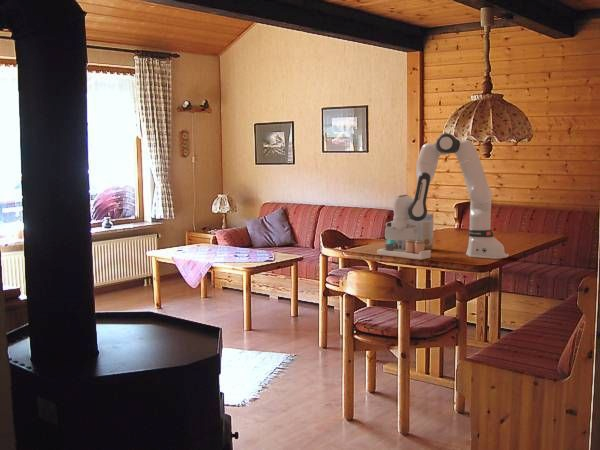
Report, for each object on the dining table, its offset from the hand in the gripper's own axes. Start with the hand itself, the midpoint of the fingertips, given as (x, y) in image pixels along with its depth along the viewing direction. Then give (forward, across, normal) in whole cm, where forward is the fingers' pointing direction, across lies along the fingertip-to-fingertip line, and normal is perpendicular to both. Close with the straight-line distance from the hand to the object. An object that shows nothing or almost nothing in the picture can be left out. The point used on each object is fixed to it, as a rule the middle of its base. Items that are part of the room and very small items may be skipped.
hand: (401, 248), depth 393 cm
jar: (+3, -11, +7) cm, 13 cm away
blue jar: (+3, +5, -7) cm, 9 cm away
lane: (+3, -6, +7) cm, 10 cm away
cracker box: (+3, +1, -21) cm, 22 cm away
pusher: (+2, +3, +4) cm, 6 cm away
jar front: (+3, -16, +7) cm, 18 cm away
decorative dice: (+3, +15, -15) cm, 22 cm away
